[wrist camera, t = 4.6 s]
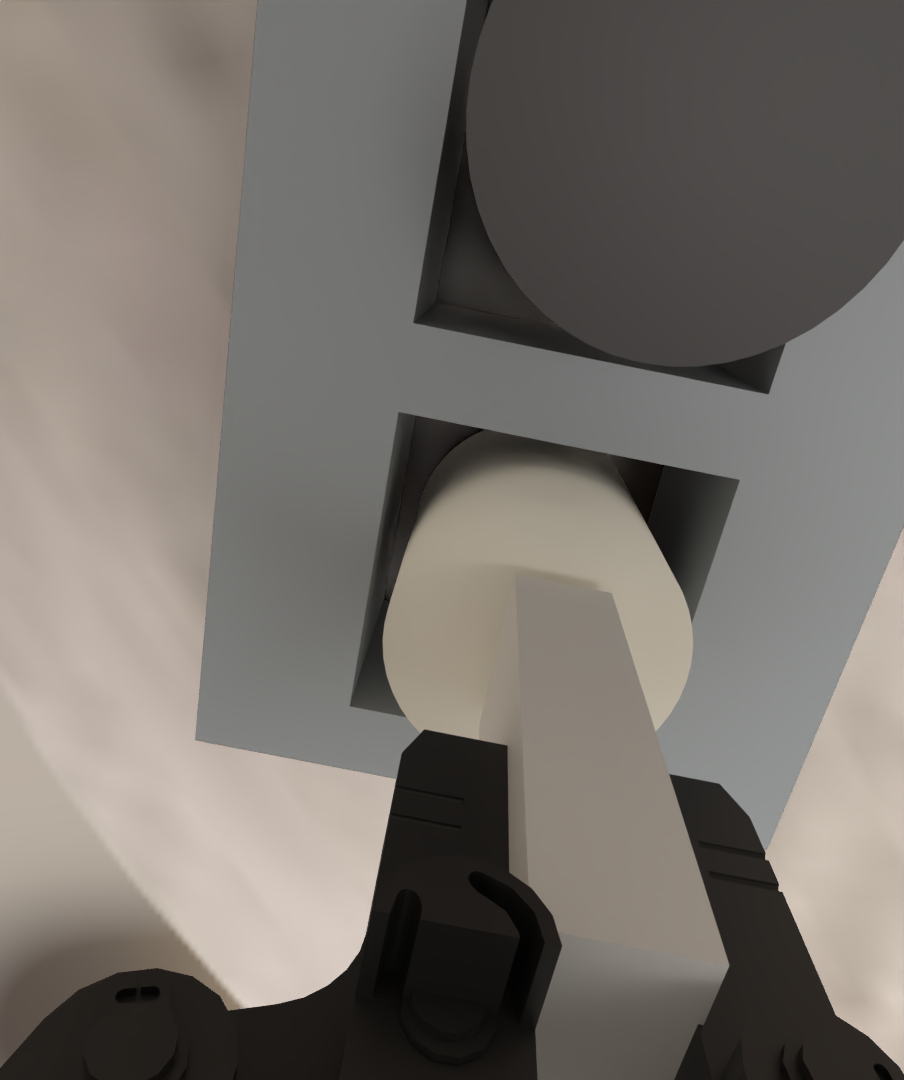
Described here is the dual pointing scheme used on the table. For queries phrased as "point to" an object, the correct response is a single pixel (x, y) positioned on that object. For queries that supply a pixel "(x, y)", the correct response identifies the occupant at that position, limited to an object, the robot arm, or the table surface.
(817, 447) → the panel
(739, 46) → the button black
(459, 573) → the button ivory
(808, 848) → the table surface
